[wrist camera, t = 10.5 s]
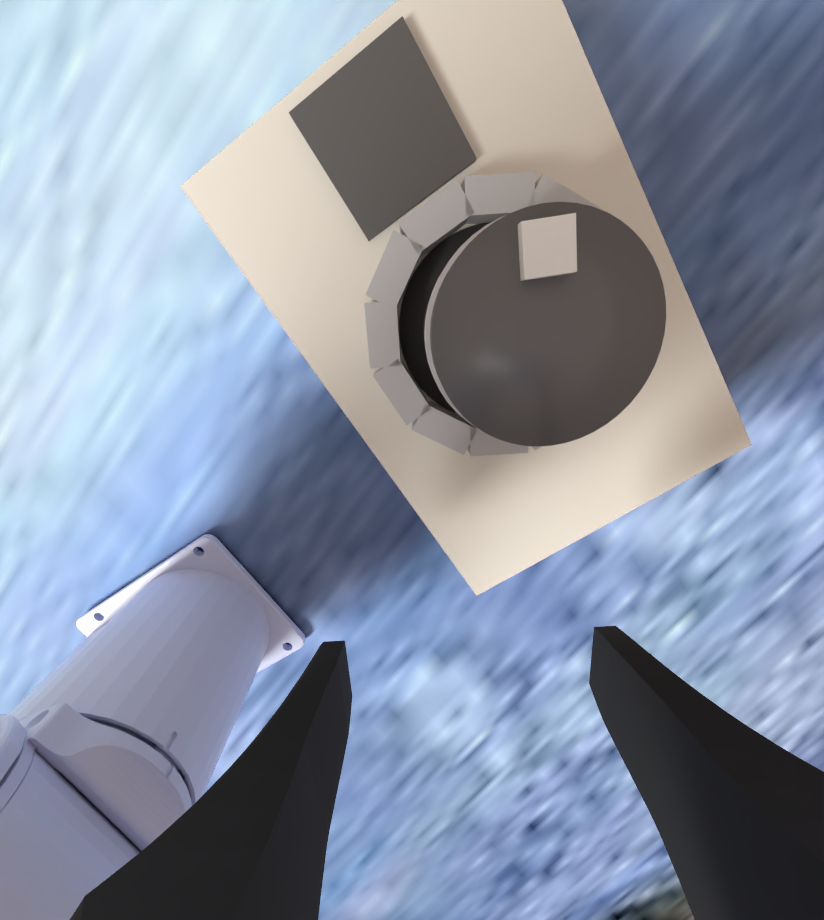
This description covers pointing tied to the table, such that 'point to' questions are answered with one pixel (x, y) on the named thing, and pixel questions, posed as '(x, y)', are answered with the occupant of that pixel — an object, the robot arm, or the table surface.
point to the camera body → (432, 246)
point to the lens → (546, 323)
